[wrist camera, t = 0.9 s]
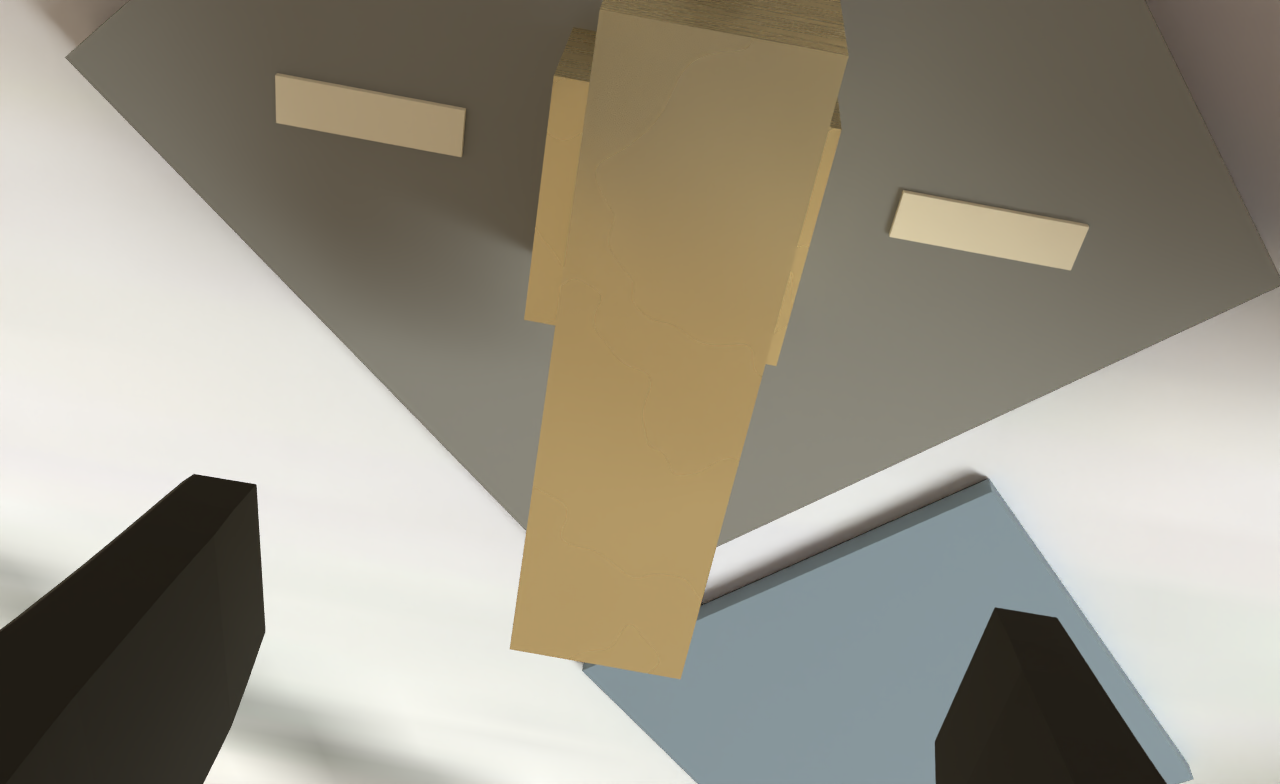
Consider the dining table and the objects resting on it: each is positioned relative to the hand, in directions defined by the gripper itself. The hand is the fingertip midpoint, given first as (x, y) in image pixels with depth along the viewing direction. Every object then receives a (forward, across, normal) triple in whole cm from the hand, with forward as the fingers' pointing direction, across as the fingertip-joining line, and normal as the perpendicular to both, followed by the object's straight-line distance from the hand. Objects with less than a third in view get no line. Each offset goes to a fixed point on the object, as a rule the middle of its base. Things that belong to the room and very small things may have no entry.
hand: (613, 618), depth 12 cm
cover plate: (+10, 0, 0) cm, 10 cm away
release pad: (+10, -7, +12) cm, 18 cm away
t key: (+9, 0, 0) cm, 9 cm away
